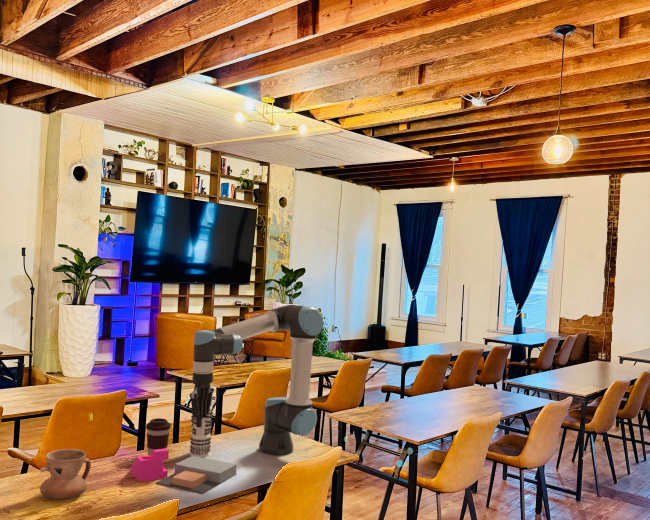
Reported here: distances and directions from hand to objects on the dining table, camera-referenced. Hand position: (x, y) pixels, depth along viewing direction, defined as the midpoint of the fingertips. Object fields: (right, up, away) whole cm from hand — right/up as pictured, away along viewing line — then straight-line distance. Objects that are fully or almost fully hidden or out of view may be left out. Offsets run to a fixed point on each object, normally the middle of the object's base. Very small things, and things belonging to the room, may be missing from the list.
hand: (200, 435), depth 226 cm
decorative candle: (-6, -17, +30) cm, 35 cm away
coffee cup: (-23, -16, +24) cm, 37 cm away
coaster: (-3, -16, -4) cm, 17 cm away
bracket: (-20, -16, +3) cm, 26 cm away
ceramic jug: (-41, -15, -21) cm, 49 cm away
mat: (-3, -17, -3) cm, 17 cm away
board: (+1, -17, +6) cm, 18 cm away
